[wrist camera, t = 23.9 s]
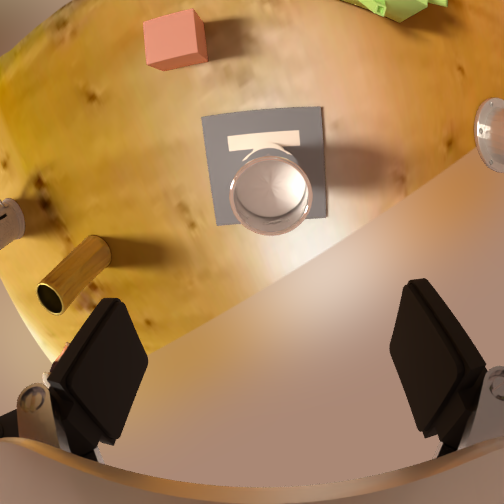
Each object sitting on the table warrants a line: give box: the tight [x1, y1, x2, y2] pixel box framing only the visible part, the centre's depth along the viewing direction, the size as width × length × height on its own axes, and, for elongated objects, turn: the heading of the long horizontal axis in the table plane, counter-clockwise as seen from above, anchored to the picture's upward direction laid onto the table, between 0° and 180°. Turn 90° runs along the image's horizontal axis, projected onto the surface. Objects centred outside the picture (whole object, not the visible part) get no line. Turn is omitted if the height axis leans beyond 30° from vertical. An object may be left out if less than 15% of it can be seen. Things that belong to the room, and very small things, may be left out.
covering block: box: [143, 9, 208, 71], centre depth 26 cm, size 6×6×6 cm
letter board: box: [201, 107, 326, 226], centre depth 36 cm, size 15×15×1 cm
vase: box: [36, 235, 111, 315], centre depth 37 cm, size 6×6×14 cm
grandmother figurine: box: [43, 342, 69, 387], centre depth 50 cm, size 8×4×13 cm, turn 146°
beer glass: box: [229, 143, 313, 236], centre depth 29 cm, size 7×7×15 cm
